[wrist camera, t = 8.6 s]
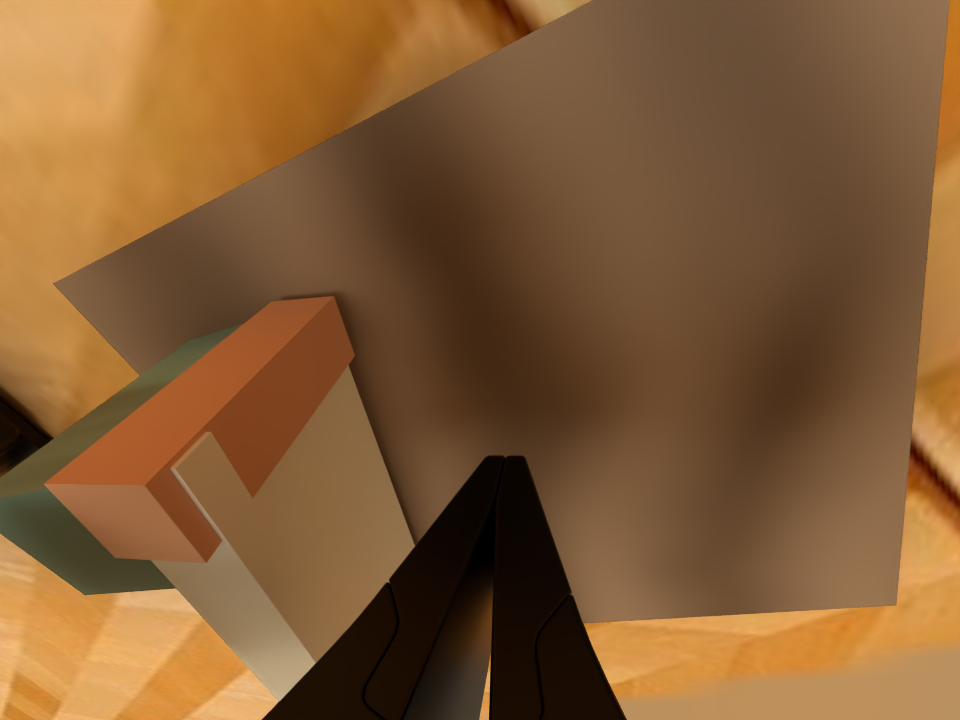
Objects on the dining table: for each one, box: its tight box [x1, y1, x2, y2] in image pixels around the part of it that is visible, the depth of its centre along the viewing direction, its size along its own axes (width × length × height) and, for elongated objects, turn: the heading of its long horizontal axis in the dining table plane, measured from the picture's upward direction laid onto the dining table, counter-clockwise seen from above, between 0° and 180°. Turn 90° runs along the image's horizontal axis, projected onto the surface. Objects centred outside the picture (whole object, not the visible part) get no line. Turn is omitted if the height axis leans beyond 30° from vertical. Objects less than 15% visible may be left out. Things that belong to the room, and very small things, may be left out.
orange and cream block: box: [44, 296, 415, 701], centre depth 13 cm, size 14×2×6 cm, turn 8°
